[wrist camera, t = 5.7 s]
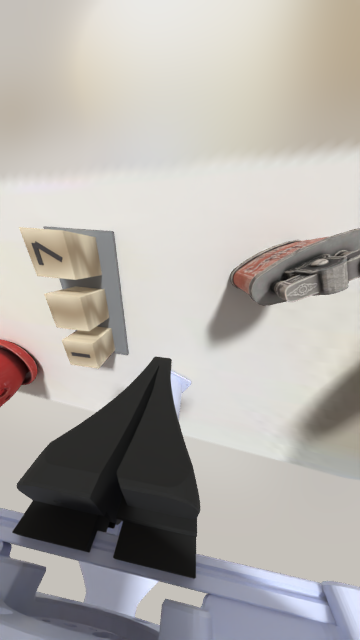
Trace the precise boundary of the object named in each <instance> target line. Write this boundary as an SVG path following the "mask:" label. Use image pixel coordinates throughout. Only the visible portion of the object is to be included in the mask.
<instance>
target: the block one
mask: <svg viewBox="0 0 360 640" xmlns="http://www.w3.org/2000/svg"><path fill="white" fill-rule="evenodd" d="M62 342H63V345H64V348H65V350H66V353H67V356H68V358H69V361H70V364H71V365H77V366H84V367H91V368H98V369H99V368H100V367H101V365H102V364H103V363H104V362H105V361H106V360H107V359H108V358H109V356H110V355H111V354H112V353H113V352H114V351H115V346H114V340H113V334H112V329H111V328H105V327H95V328H93V329H92V330H90V331H81V330H77V331H76V332H74V333H72V334H71V335H69V336H68V337H66V338H64V339H63V340H62Z"/></svg>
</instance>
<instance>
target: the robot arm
mask: <svg viewBox="0 0 360 640" xmlns="http://www.w3.org/2000/svg"><path fill="white" fill-rule="evenodd" d="M171 361H172V360H171V359H170V358H162V357H154V359H153V360H152V361H151V362H150V364H149V365H148V366H147V367H146V368H145V369H144V371H143V372H142V373H141V374H140V375H139V376H138V377H137V378H136V379H135V380H134V381H133V382H132V383H131V384H130V385H129V386H128V387H127V388H126V389H125V390H124V391H123V392H121V393H120V394H119V395H118V396H117V397H116V398H114V399H113V400H112V401H111V402H109V403H108V404H107V405H106V406H104V407H103V408H102V409H100V410H99V411H98V412H96V413H95V414H94V415H92V416H91V417H89V418H88V419H86V420H85V421H84V422H82V423H81V424H79V425H78V426H76V427H75V428H73V429H71V430H70V431H68V432H67V433H65V434H63V435H62V436H60V437H59V438H57V439H56V440H54V441H52V442H51V443H50V444H49V445H48V446H47V447H46V448H45V449H44V450H43V452H42V453H41V454H40V455H39V456H38V458H37V459H36V460H35V462H34V463H33V464H32V465H31V467H30V468H29V469H28V470H27V472H26V473H25V474H24V476H23V477H22V478H21V479H20V481H19V482H18V483H17V488H18V490H19V491H21V492H22V493H23V494H25V495H26V496H28V497H29V498H31V499H32V500H33V502H32V503H31V505H30V506H29V508H28V509H27V511H26V512H25V513H20V512H16V511H12V510H7V509H3V508H0V640H360V587H358V586H353V585H349V584H344V583H340V582H334V581H323V582H322V583H319V582H315V581H311V580H306V579H302V578H297V577H293V576H289V575H285V574H281V573H276V572H272V571H268V570H263V569H259V568H255V567H251V566H246V565H242V564H238V563H234V562H229V561H225V560H221V559H217V558H212V557H208V556H204V555H199V554H196V537H197V516H198V514H199V512H200V500H199V494H198V489H197V484H196V479H195V475H194V470H193V466H192V463H191V460H190V457H189V454H188V451H187V448H186V445H185V442H184V439H183V435H182V432H181V428H180V425H179V413H180V404H181V395H182V393H183V392H184V391H185V390H186V389H187V388H188V387H189V386H190V385H191V381H190V380H188V379H186V378H184V377H182V376H180V375H179V374H177V373H175V372H173V371H171ZM10 543H11V544H15V545H19V546H23V547H26V548H31V549H34V550H39V551H42V552H47V553H50V554H54V555H58V556H62V557H66V558H70V559H74V560H78V561H79V564H80V568H81V571H82V575H83V578H84V583H85V587H86V596H85V599H84V603H82V602H78V601H74V600H70V599H66V598H61V597H57V596H53V595H49V594H45V593H40V592H36V591H37V588H38V586H39V584H40V582H41V580H42V578H43V576H44V574H45V572H46V567H44V566H40V565H37V564H34V563H29V562H26V561H21V560H17V559H12V558H10V556H9V555H10V551H11V544H10ZM158 581H160V582H164V583H168V584H172V585H176V586H180V587H184V588H188V589H191V590H195V591H200V592H203V593H207V595H206V596H205V597H204V599H203V604H202V606H201V608H199V607H196V606H193V605H189V604H185V603H181V602H177V601H173V600H168V599H165V600H164V602H163V604H162V611H161V622H160V625H157V624H154V623H151V622H148V621H145V620H142V619H138V618H136V617H135V613H136V608H137V605H138V604H139V602H140V601H141V600H142V598H143V597H144V596H145V595H146V594H147V593H148V592H149V591H150V590H151V589H152V588H153V587H154V586H155V584H157V582H158Z"/></svg>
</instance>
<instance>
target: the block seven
mask: <svg viewBox="0 0 360 640" xmlns="http://www.w3.org/2000/svg"><path fill="white" fill-rule="evenodd" d="M19 229H20V231H21V234H22V237H23V239H24V242H25V244H26V247H27V250H28V252H29V255H30V258H31V260H32V263H33V266H34V268H35V271H36V274H37V276H41V277H52V278H62V279H73V280H77V279H83V278H88V277H94V276H100V275H102V271H101V266H100V260H99V254H98V249H97V243H96V237H92V236H87V235H82V234H78V233H73V232H68V231H63V230H51V229H37V228H22V227H19Z"/></svg>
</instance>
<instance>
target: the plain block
mask: <svg viewBox="0 0 360 640" xmlns="http://www.w3.org/2000/svg"><path fill="white" fill-rule="evenodd" d="M44 295H45V297H46V300H47V303H48V305H49V308H50V311H51V313H52V316H53V319H54V321H55V324H56V327H57V328H65V329H73V330H81V331H90V330H92V329H93V328H95V327H96V326H98V325H99V324H101V323H102V322H104V321H105V320H107V319H108V318H109V312H108V306H107V300H106V294H105V289H96V288H86V287H71V288H67V289H63V290H59V291H54V292H50V293H46V294H44Z"/></svg>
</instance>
